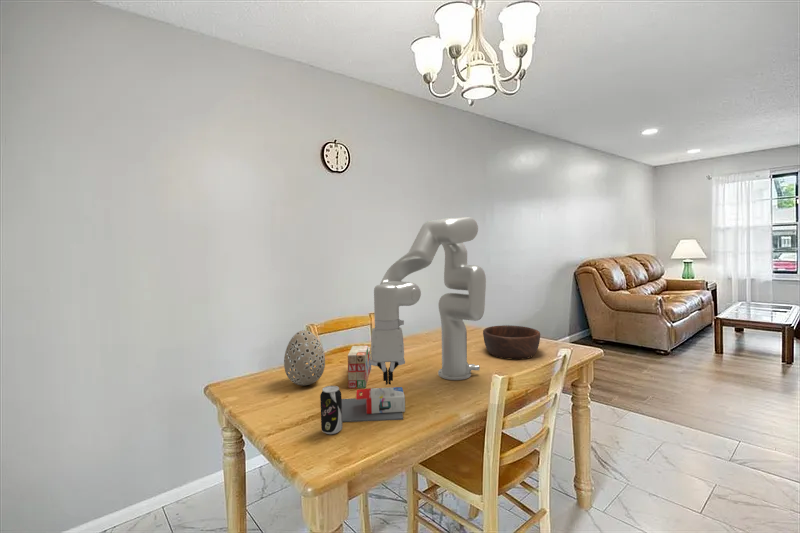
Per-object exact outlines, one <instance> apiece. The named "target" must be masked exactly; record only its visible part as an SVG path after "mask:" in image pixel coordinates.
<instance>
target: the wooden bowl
mask: <svg viewBox="0 0 800 533" xmlns="http://www.w3.org/2000/svg"><path fill="white" fill-rule="evenodd" d="M482 335H483V342H484V346H485V348H486V350H487V352H488V353H489V354H492V356H493V355H494V356H493V357H496V356H497V357H496V358H500V357H502V358H501V359H505V358H512V359H511V360H523V359H522V358H526V359H529V358H528V357H530V358H532V357H533V356H535V354H537V351H538V348H539V346H540V341H541V332H540V331H539V330H537V329H535V328H532V327H528V326H522V325H509V324H508V325H507V324H505V325H504V324H503V325H494V326H488V327H486V328H483V331H482ZM531 356H532V357H531Z"/></svg>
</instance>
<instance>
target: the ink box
mask: <svg viewBox="0 0 800 533" xmlns="http://www.w3.org/2000/svg"><path fill="white" fill-rule="evenodd" d="M355 398H356V400H362V399H366V413H367V414H374V413H391V412H402V413H405V412H406V397H405V393H404V390H403V387H402V386H398V387H397V386H395V387H378V388H377V387H375V388H374V387H373V388H371V387H370V388H358V389H356V396H355Z"/></svg>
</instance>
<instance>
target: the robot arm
mask: <svg viewBox="0 0 800 533" xmlns="http://www.w3.org/2000/svg"><path fill="white" fill-rule="evenodd" d="M478 231H479V225H478V223H477V220H476V219H475V218H473V217H471V216H462V217H445V218H440V219H433V220H427V221H426V222H424V223H423V224H422V226H421V227H420V229H419V231H418V233H417V235H416V237H415V239H414V240H413V242H412V244H411V247H410V249H409V250H408V252H407V253H406V254H404V255H403V256H401V257H400V258H399V259H398V260H396V261H395V262H394V263H393V264H392V265H391V266H390V267H388V269H387V270H386V272H385V274H384V276H383V278H382V280H381V281H380V283H379V284H377V285H376V286H374V289H373V305H374V306H373V308H374V309H373V310H374V327H373V328H372V331H371V339H370V354H371V362H370V364H371V366H373V367H374V366H375V367H378V368H379V369H380V370H381V371H382V374H383V375H382V380H383V382H385V386H387V385H390V386H391V385H392V382H393V381H394V370H396V368H397V367H399V366H402V365H405V363H406V360H405V343H404V335H403V329H402V327H400V326H402V325H404V324H405V321H404V320H403V319H400V307H410V306H414V305H415V304H417V303H418V302H419V301H420V299H421V295H422V293H421V292H422V291H421V288H420V287H419V286H418V285H417V284H416V283H414V282H410V281H403V280H404V279H405V278H406V277H407V276H409V275H411V274H413V273H416V272H418V271H421V270H423V269H426V268H427V267H429V266H430V265H431V264H432V263H433V260H434V258H435V256H436V255H437V252H438V249H439V248H440V246H441V245H442V247H443V251H444V267H443V268H444V271H443V281H444V282H443V283H444V286H445V287H446V288H447V289H449V290H456V291H467V292H468V293H467V294H466V293H458V292H457V293H456V292H448V293H445V294H442V295H441V297H440V298H439V300H438V311H439V316H440V323H441V368H440V369H438V371H437V375H438V376H439V377H440V378H442V379H445V380H448V381H462V380H467V379H469V378H471V376H472V371H480V365H479V364H477V365H476V364H475V363H468V350H467V345H468V344H467V343H468V342H467V341H468V334H467V333H468V332H467V327H466V326H467V325H466V324H465V321H472V322H476V321H479V320H481V319H482V318H483V316H484V312H485V306H486V288H487V277H486V274H485V273H486V272H485V270H484V269H483V267H482V266H480V265H475V264H468V251H467V248H466V246H465V244H464V243H466V242H470V241H473V240H474V239H475V238H476V237H477V235H478ZM386 363H389V367H387V365H386Z"/></svg>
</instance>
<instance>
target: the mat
mask: <svg viewBox="0 0 800 533" xmlns="http://www.w3.org/2000/svg"><path fill="white" fill-rule="evenodd" d="M400 420H401V421H402V420H404V412H391V413H374V414H367V413H366V399H362V400H356V397H355V398H353V397H352V398H342V423H352V422H355V423H357V422H375V421H377V422H378V421H380V422H381V421H400Z"/></svg>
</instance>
